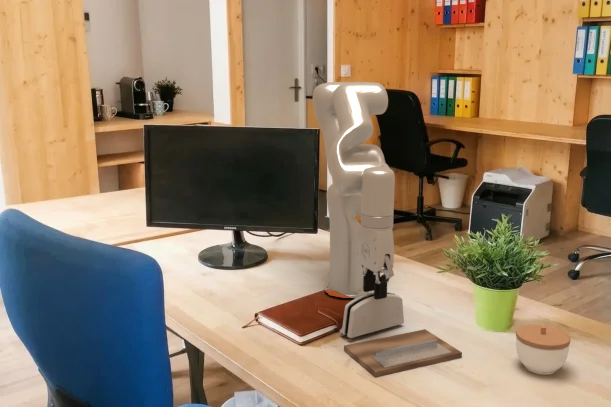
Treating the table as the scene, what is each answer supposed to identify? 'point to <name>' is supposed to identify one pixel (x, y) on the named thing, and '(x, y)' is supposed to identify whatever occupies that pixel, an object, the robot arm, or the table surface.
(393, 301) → the white arched block
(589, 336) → the table surface
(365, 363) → the mounting board
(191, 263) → the table surface
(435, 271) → the table surface
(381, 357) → the plate
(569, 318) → the table surface
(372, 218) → the robot arm
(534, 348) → the lidded jar
